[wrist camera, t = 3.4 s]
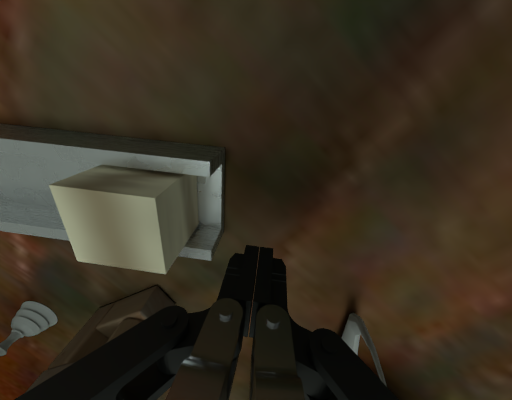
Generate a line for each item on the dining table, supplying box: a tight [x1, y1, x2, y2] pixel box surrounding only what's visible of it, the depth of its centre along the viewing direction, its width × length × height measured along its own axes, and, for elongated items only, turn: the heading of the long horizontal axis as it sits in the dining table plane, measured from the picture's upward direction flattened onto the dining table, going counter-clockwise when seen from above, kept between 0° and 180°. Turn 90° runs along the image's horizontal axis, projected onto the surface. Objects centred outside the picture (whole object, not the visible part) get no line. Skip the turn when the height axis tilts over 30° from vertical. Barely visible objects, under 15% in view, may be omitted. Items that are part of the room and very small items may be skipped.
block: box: [49, 164, 199, 274], centre depth 15 cm, size 6×5×6 cm
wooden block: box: [26, 286, 175, 392], centre depth 19 cm, size 4×11×18 cm, turn 120°
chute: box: [0, 124, 225, 261], centre depth 18 cm, size 26×8×4 cm, turn 86°
